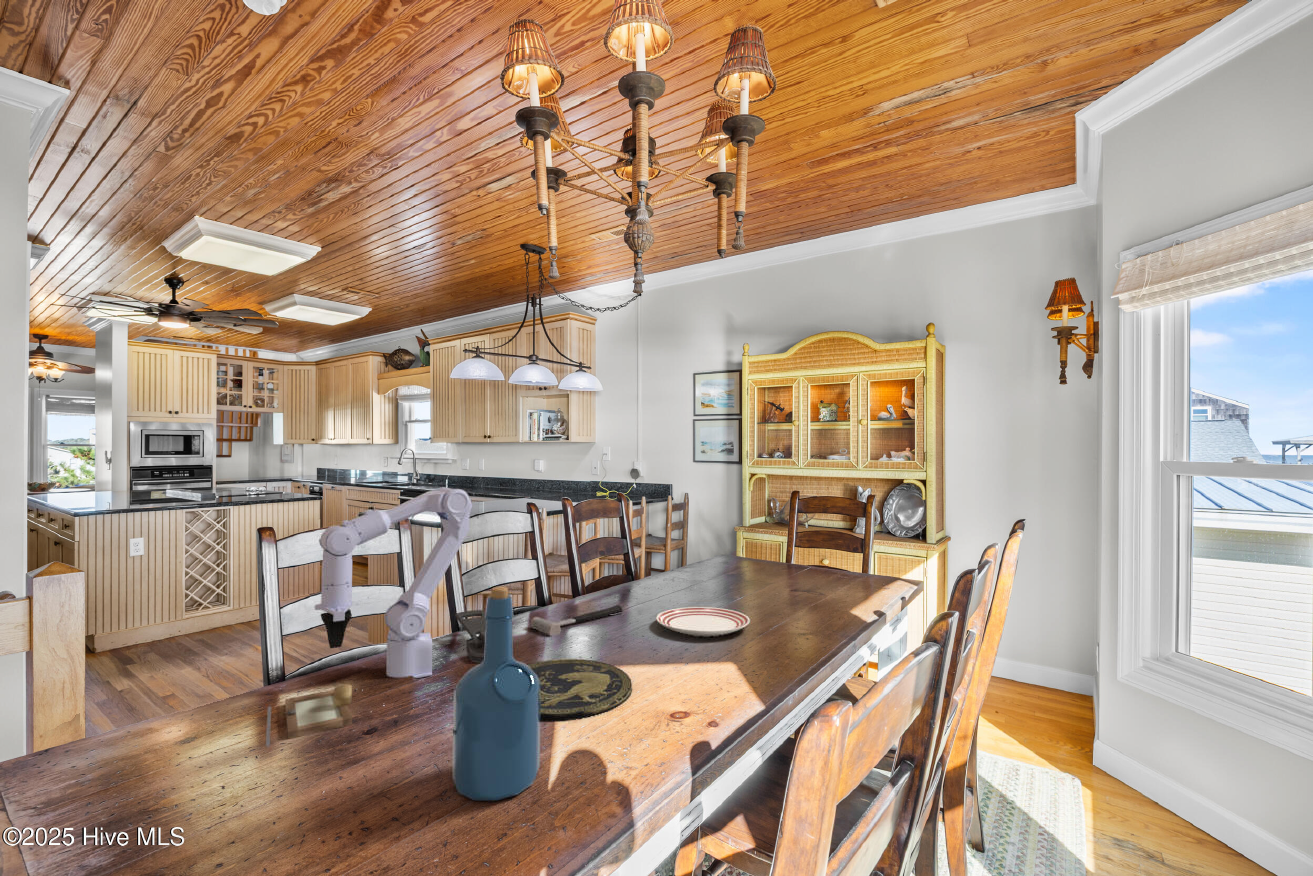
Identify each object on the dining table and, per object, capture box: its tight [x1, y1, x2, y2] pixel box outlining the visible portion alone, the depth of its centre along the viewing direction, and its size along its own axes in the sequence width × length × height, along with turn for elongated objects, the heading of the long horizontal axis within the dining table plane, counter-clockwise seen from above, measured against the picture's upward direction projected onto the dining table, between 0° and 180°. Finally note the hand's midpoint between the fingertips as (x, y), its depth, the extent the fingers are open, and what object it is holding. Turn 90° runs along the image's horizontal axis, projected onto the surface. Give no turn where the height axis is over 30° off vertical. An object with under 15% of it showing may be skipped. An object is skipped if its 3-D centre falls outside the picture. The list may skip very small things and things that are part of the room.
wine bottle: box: [451, 586, 541, 802], centre depth 92 cm, size 14×13×30 cm
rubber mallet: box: [529, 604, 623, 637], centre depth 176 cm, size 10×4×30 cm
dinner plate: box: [655, 606, 751, 638], centre depth 172 cm, size 28×27×3 cm
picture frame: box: [284, 684, 353, 740], centre depth 112 cm, size 11×16×4 cm
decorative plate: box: [526, 658, 633, 722], centre depth 127 cm, size 30×2×30 cm
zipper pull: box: [454, 609, 486, 665], centre depth 153 cm, size 9×7×25 cm
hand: (335, 646), depth 125 cm, fingers closed
